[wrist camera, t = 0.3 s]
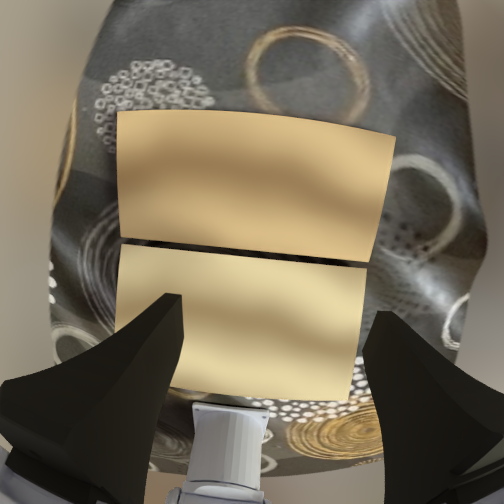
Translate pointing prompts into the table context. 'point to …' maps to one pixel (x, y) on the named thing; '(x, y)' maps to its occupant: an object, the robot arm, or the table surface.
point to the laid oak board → (251, 181)
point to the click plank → (251, 320)
